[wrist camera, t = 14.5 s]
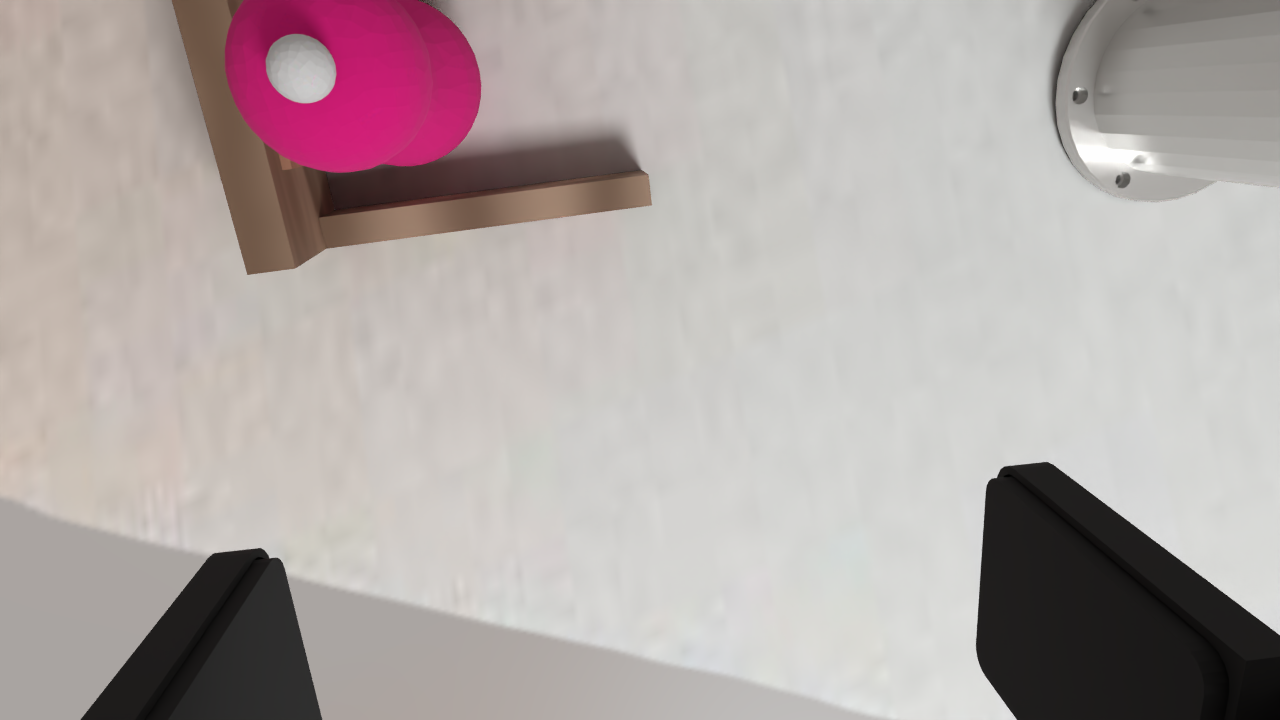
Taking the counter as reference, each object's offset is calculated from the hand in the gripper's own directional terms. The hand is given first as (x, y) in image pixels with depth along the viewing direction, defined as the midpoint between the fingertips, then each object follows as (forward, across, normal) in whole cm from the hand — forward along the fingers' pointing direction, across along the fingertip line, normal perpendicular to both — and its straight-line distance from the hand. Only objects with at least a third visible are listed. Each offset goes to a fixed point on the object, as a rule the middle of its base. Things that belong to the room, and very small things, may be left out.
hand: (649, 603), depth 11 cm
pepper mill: (+34, +8, -8) cm, 36 cm away
